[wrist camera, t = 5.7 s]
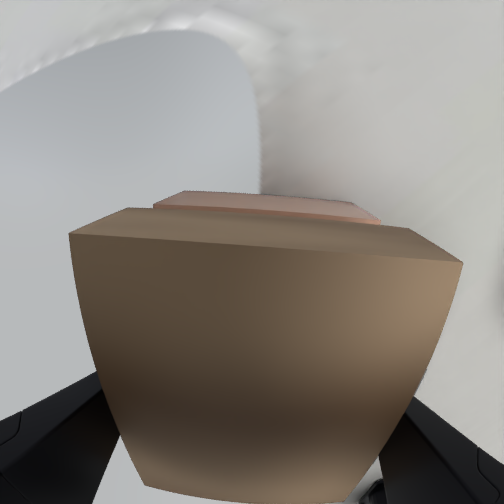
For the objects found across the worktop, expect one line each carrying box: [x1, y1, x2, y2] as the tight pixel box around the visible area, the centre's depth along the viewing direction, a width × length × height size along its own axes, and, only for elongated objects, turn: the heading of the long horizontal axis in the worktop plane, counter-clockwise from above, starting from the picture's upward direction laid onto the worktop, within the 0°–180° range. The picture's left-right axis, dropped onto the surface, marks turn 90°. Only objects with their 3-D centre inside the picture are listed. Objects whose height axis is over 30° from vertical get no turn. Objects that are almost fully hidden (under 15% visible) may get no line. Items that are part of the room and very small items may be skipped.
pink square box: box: [153, 191, 381, 225], centre depth 13 cm, size 8×8×4 cm
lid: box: [69, 208, 463, 504], centre depth 7 cm, size 9×7×2 cm
